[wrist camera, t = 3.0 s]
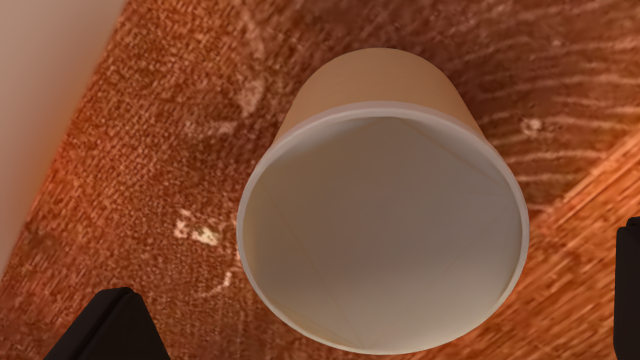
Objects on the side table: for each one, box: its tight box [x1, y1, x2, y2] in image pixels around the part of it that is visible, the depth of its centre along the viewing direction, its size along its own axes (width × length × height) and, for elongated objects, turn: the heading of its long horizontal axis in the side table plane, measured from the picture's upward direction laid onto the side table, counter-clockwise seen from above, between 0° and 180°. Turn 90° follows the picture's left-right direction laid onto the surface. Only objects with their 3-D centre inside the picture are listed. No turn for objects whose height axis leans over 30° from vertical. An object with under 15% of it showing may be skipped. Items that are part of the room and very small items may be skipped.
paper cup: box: [236, 48, 530, 355], centre depth 14 cm, size 7×7×7 cm
